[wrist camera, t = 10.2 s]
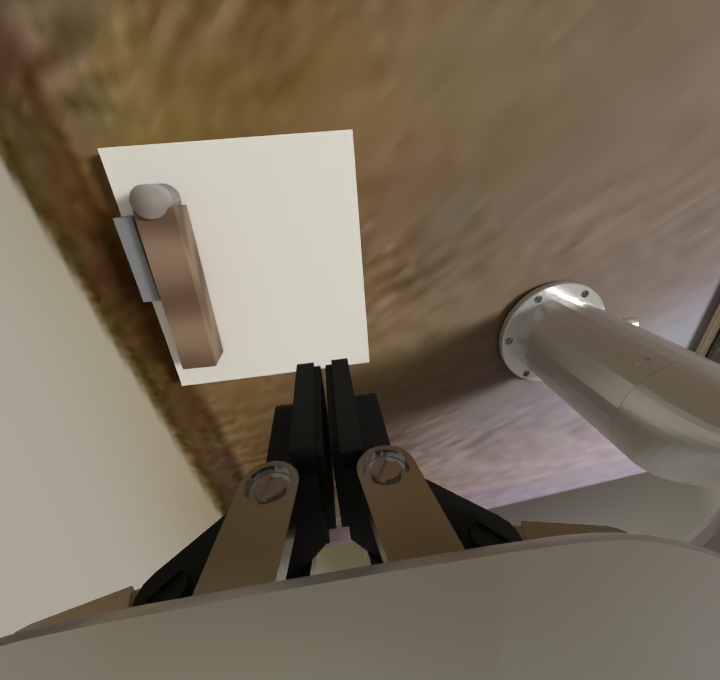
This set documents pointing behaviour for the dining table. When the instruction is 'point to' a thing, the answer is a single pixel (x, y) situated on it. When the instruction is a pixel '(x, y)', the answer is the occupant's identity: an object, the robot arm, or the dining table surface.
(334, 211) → the white flat square panel
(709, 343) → the hardcover book
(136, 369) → the dining table surface
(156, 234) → the folding leg
